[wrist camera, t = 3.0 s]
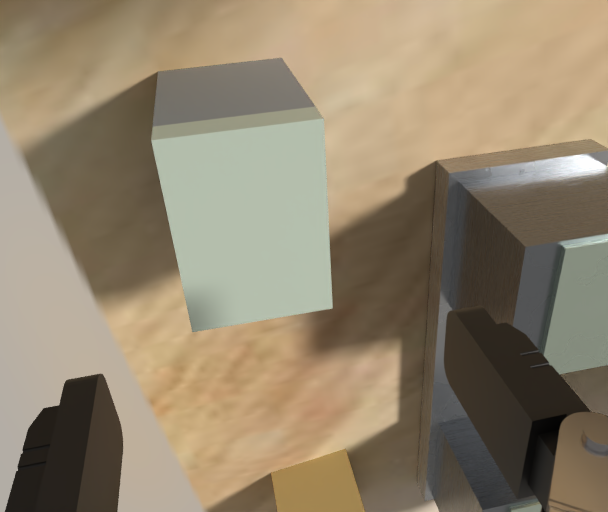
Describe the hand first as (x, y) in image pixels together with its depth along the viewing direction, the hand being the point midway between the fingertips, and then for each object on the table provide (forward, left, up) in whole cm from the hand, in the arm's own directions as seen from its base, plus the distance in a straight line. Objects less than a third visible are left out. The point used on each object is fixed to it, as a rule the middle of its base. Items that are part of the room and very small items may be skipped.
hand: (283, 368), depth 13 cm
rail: (+14, +14, -14) cm, 24 cm away
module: (0, 0, -14) cm, 14 cm away
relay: (+24, +3, -14) cm, 28 cm away
